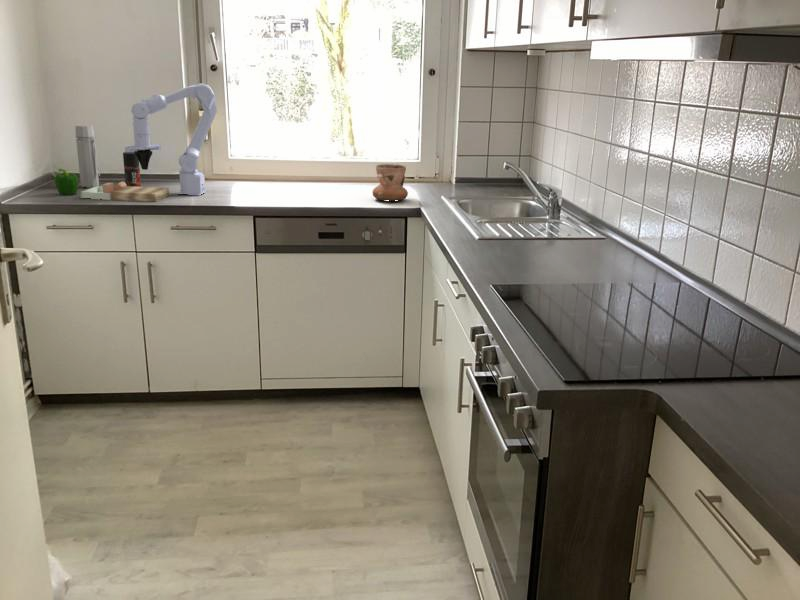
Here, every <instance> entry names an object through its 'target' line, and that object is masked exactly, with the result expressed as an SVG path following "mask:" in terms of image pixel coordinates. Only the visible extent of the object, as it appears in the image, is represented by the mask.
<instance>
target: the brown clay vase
mask: <svg viewBox="0 0 800 600" xmlns="http://www.w3.org/2000/svg"><path fill="white" fill-rule="evenodd" d="M406 169H407V167H406V165H403V164H399V163H397V164H395V163H381V164H380V163H379V164H376V165H375V172H376V174H377V175H376V178H377V179H378V181H379V183H378V185H377V186H375V187H374V188H373V189H372V196H373V198H374V199H377V200H378V199H379V200H378V201H381V200H389V201H395V200H401V201H403V200H405V199H406V198H407V197H408V194H409V192H408V190H407V189H406V188H405V187H404V184H405V183H404V182H405V180H406V179H405V178H406V177H405V176H406V175H405V173H406V172H407V171H406Z"/></svg>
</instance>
